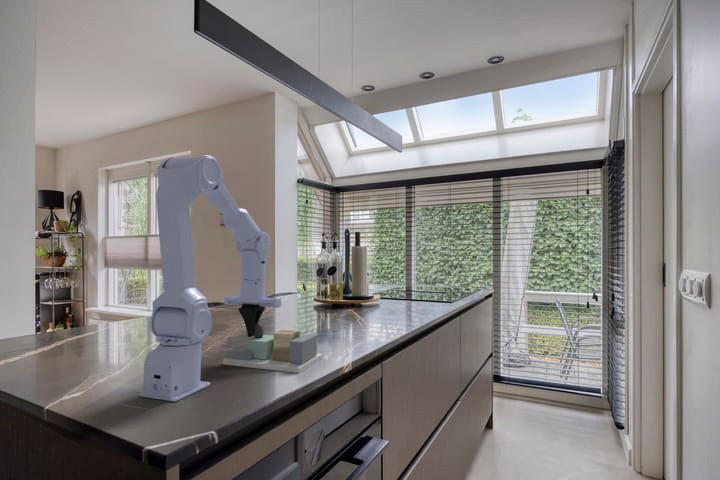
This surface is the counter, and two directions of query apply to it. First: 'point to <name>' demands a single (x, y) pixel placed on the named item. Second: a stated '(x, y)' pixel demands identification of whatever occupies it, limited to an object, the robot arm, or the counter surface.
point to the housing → (283, 343)
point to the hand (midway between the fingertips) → (251, 336)
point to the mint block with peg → (261, 344)
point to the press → (300, 359)
